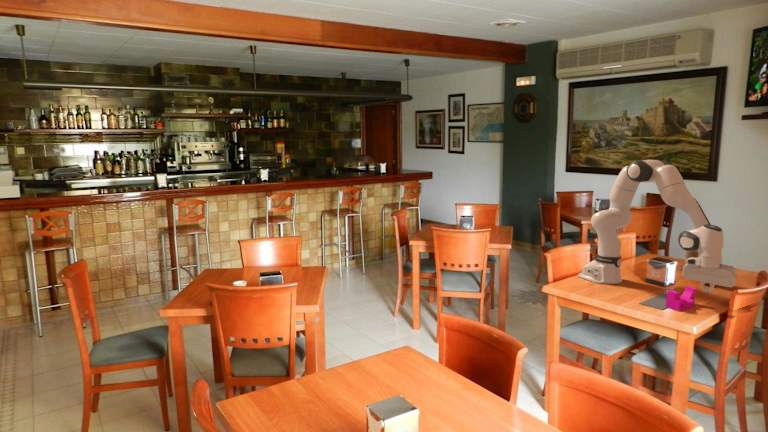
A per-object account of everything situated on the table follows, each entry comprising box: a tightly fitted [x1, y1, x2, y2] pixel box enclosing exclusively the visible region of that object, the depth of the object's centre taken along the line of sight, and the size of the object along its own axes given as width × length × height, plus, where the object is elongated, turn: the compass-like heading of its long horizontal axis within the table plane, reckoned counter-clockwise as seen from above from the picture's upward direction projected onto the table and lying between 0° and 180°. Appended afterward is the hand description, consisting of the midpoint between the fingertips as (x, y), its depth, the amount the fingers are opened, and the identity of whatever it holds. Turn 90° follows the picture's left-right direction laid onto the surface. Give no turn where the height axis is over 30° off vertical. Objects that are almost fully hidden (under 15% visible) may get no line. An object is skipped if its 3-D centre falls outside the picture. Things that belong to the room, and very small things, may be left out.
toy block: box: [666, 285, 697, 312], centre depth 231 cm, size 15×6×8 cm, turn 116°
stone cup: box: [679, 250, 698, 271], centre depth 287 cm, size 15×12×15 cm
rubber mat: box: [638, 292, 669, 311], centre depth 238 cm, size 10×24×1 cm, turn 127°
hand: (706, 292), depth 222 cm, fingers closed
